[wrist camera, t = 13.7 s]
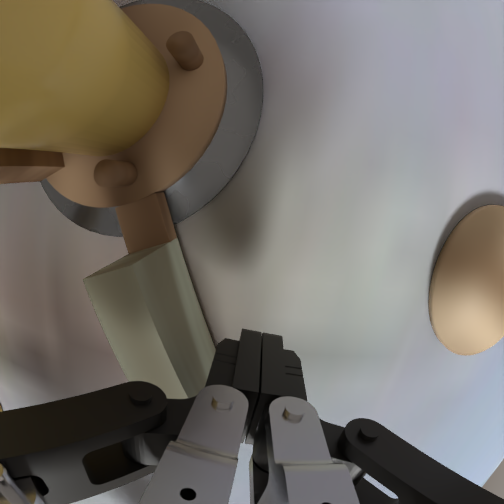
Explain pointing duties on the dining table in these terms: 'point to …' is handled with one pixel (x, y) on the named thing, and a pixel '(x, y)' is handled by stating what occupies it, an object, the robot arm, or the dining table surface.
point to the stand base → (224, 142)
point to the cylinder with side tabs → (76, 77)
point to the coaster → (470, 284)
